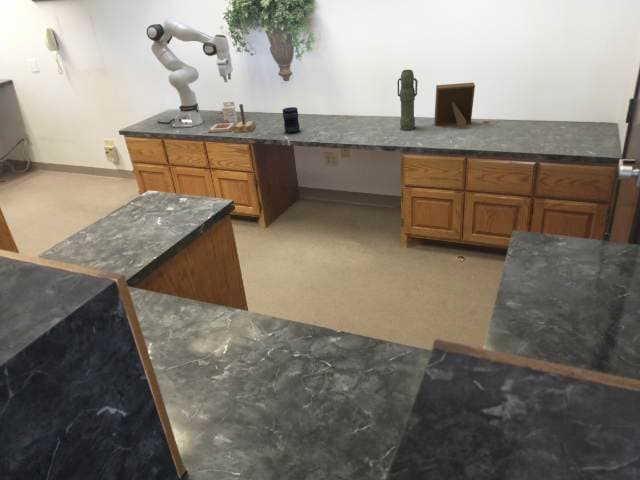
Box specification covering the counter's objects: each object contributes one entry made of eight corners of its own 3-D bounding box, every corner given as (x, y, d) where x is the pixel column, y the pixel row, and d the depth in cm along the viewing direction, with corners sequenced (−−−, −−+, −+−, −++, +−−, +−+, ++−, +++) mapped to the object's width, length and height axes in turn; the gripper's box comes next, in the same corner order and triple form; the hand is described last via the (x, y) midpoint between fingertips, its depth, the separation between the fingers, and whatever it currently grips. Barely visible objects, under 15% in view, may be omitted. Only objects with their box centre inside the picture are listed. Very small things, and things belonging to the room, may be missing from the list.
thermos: (416, 130, 311) (416, 71, 295) (397, 130, 314) (396, 72, 298) (417, 126, 319) (418, 68, 302) (399, 126, 322) (398, 69, 305)
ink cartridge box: (224, 124, 364) (220, 103, 357) (226, 122, 369) (222, 102, 362) (236, 123, 363) (232, 103, 356) (237, 122, 367) (234, 101, 361)
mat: (208, 132, 348) (208, 132, 348) (214, 127, 360) (214, 126, 360) (231, 131, 346) (231, 131, 346) (236, 125, 358) (236, 125, 358)
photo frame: (434, 123, 320) (435, 83, 308) (469, 121, 318) (471, 80, 306) (437, 130, 307) (438, 88, 295) (474, 128, 305) (476, 85, 293)
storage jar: (291, 129, 338) (289, 106, 331) (303, 130, 332) (300, 107, 325) (281, 133, 331) (279, 110, 324) (293, 134, 326) (290, 111, 319)
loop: (210, 132, 348) (209, 129, 347) (216, 126, 360) (215, 124, 359) (229, 131, 346) (228, 128, 345) (234, 125, 358) (234, 123, 357)
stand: (234, 132, 343) (229, 106, 335) (238, 127, 353) (234, 102, 345) (251, 131, 341) (247, 105, 333) (255, 126, 352) (251, 101, 343)
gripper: (224, 58, 358) (227, 78, 364) (215, 62, 340) (219, 84, 346) (232, 57, 357) (236, 77, 363) (224, 62, 339) (228, 83, 345)
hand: (227, 80), depth 355 cm, fingers open, 8 cm apart
